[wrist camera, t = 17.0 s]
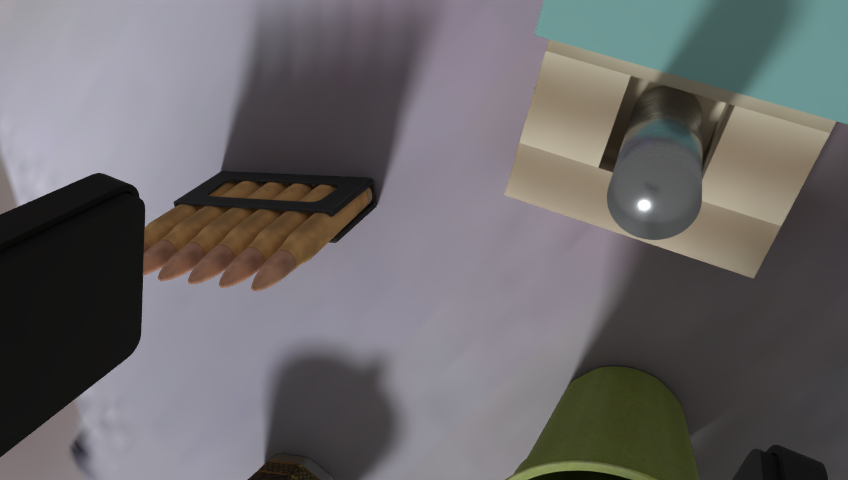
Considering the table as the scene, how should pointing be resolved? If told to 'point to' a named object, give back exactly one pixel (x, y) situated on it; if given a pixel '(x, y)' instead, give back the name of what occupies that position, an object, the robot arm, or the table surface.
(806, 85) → the teal square plate
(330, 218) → the ammunition clip
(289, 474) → the ceramic cup
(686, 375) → the table surface
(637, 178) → the steel pin
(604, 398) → the plant pot
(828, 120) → the block
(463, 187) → the table surface
